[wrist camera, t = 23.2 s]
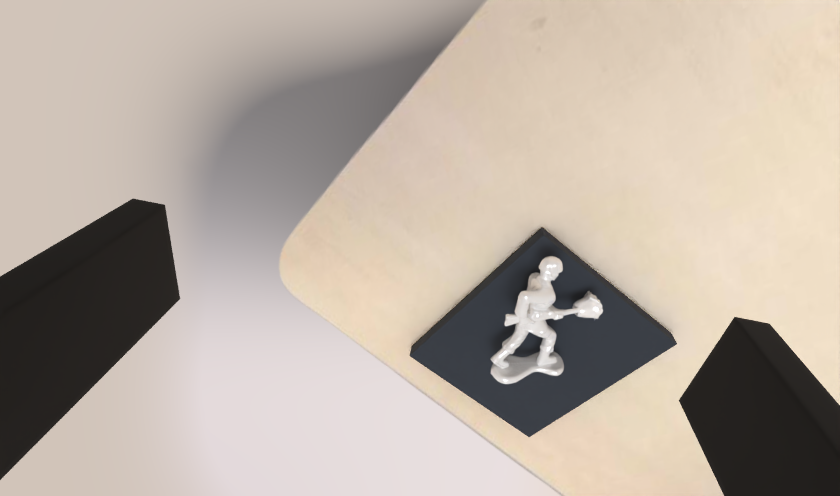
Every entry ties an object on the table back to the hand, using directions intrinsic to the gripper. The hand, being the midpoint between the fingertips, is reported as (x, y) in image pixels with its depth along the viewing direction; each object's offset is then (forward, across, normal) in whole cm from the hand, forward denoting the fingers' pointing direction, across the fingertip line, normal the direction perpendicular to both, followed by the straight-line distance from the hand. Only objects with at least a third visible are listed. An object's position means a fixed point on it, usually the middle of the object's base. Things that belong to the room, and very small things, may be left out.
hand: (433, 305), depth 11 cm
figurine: (+24, +11, -23) cm, 35 cm away
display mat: (+27, +11, -22) cm, 37 cm away
